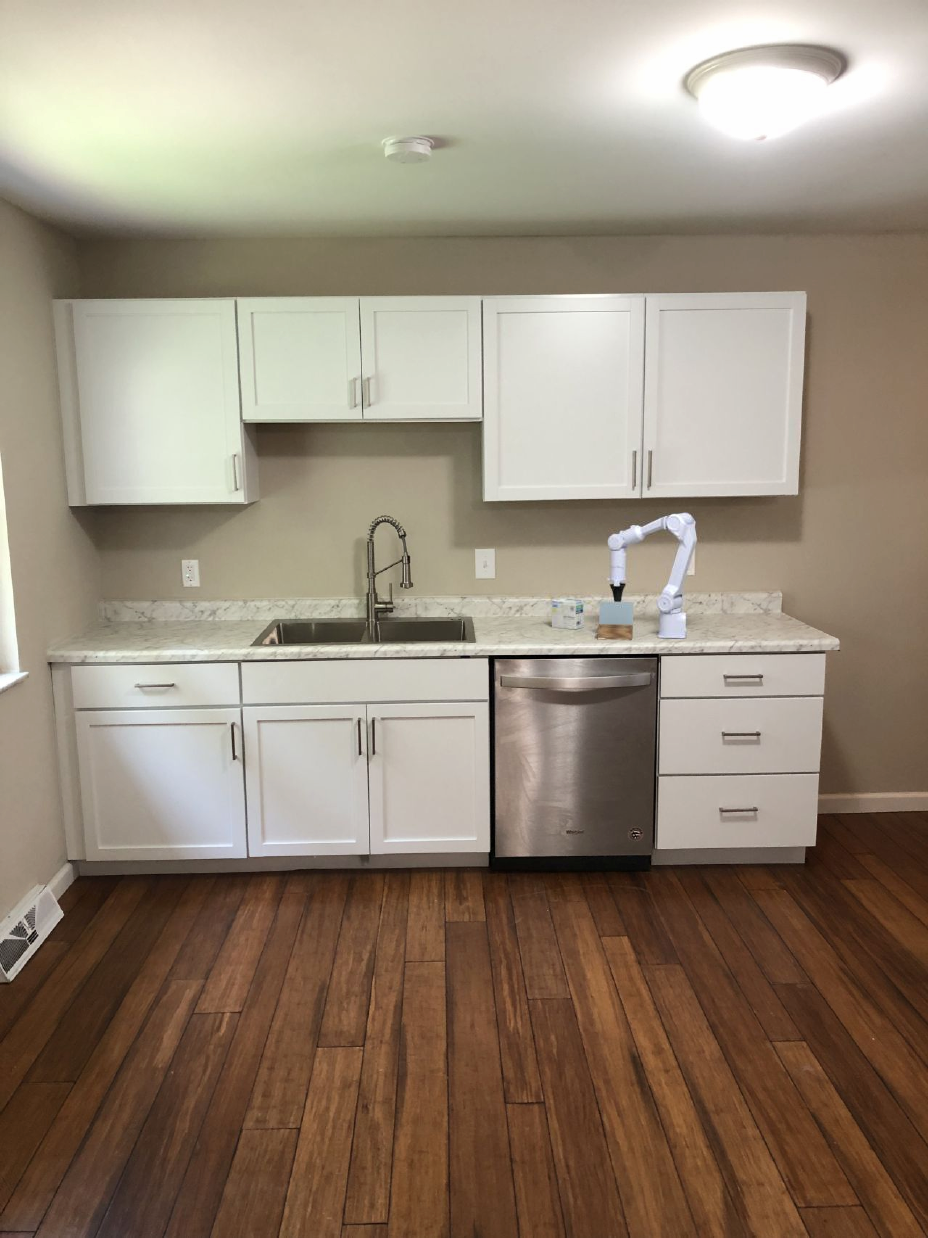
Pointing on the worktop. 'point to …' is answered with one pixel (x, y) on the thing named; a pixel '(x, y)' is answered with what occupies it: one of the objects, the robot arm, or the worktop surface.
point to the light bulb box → (567, 613)
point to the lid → (616, 613)
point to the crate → (615, 631)
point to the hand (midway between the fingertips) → (617, 603)
